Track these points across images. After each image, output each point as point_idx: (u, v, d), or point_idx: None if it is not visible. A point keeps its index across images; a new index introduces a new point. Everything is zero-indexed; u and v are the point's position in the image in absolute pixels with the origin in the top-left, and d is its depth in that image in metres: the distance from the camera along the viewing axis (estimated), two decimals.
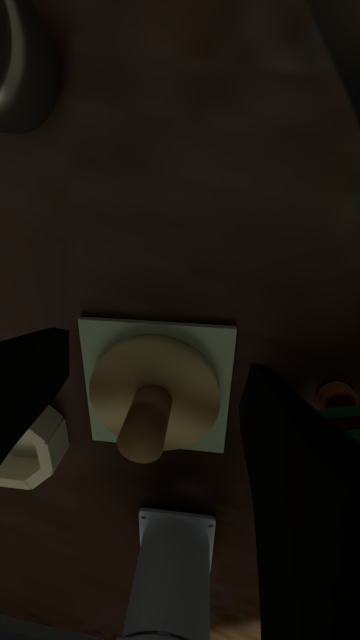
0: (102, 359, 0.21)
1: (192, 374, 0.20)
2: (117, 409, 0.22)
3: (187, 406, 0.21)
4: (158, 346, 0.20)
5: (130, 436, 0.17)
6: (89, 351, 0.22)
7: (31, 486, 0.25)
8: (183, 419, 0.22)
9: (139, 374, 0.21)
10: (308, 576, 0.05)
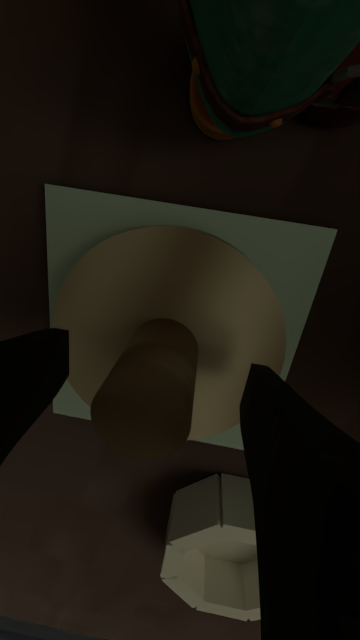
0: (89, 404, 0.14)
1: (110, 273, 0.11)
2: None
3: (179, 292, 0.11)
4: (60, 321, 0.12)
5: (115, 430, 0.08)
6: None
7: None
8: (210, 304, 0.11)
9: (113, 359, 0.13)
10: (308, 576, 0.05)
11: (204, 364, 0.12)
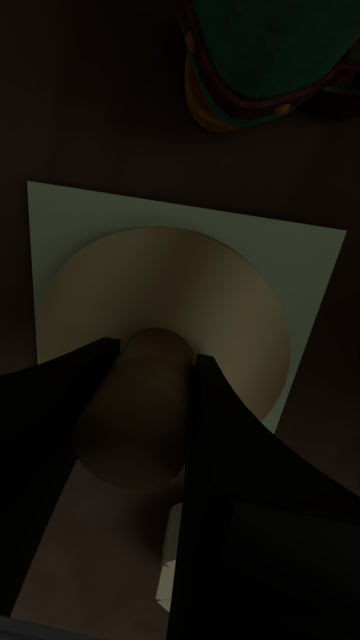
0: None
1: (99, 279, 0.10)
2: None
3: (174, 300, 0.10)
4: (45, 330, 0.11)
5: (101, 459, 0.07)
6: None
7: None
8: (207, 313, 0.10)
9: None
10: (188, 551, 0.05)
11: None
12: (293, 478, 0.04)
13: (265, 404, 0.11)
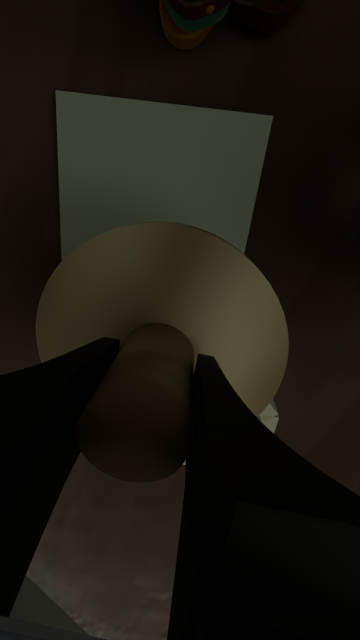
0: None
1: (96, 276, 0.10)
2: None
3: (172, 295, 0.10)
4: (44, 329, 0.11)
5: (105, 453, 0.07)
6: None
7: (272, 413, 0.18)
8: (206, 306, 0.10)
9: None
10: (189, 551, 0.05)
11: None
12: (295, 478, 0.04)
13: (264, 395, 0.12)
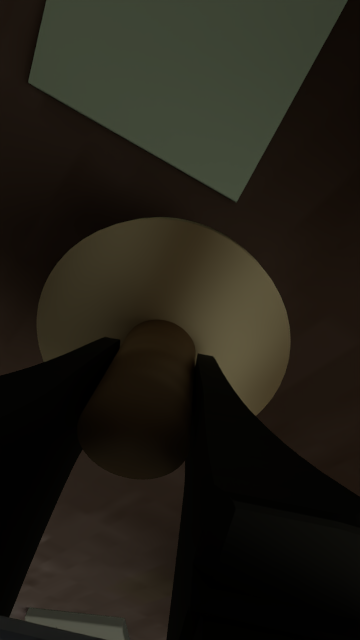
0: None
1: (98, 272, 0.10)
2: None
3: (174, 292, 0.10)
4: (45, 325, 0.11)
5: (106, 450, 0.07)
6: (81, 96, 0.14)
7: None
8: (207, 304, 0.10)
9: None
10: (189, 551, 0.05)
11: None
12: (294, 477, 0.04)
13: (265, 392, 0.12)
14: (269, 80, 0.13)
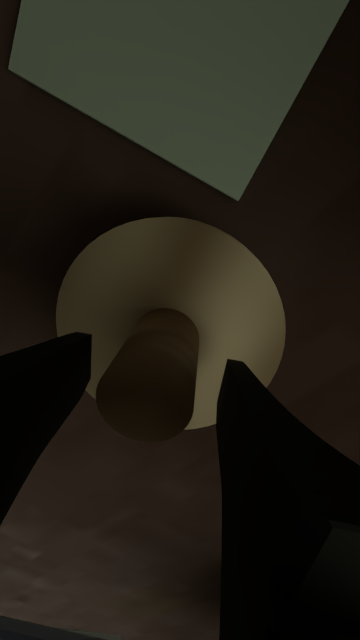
0: (93, 395, 0.14)
1: (112, 264, 0.11)
2: None
3: (180, 282, 0.11)
4: (63, 313, 0.12)
5: (120, 414, 0.08)
6: (67, 84, 0.12)
7: None
8: (210, 293, 0.11)
9: (116, 350, 0.13)
10: (254, 565, 0.05)
11: (205, 353, 0.12)
12: None
13: (263, 377, 0.13)
14: (275, 65, 0.11)
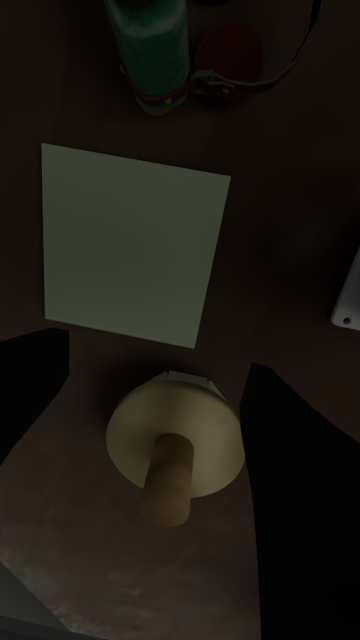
0: (142, 486, 0.22)
1: (130, 418, 0.20)
2: (196, 477, 0.21)
3: (170, 419, 0.19)
4: (111, 447, 0.21)
5: (154, 516, 0.16)
6: (78, 317, 0.21)
7: None
8: (189, 421, 0.19)
9: (147, 460, 0.21)
10: (308, 576, 0.05)
11: (199, 451, 0.20)
12: None
13: (239, 457, 0.20)
14: (188, 281, 0.19)
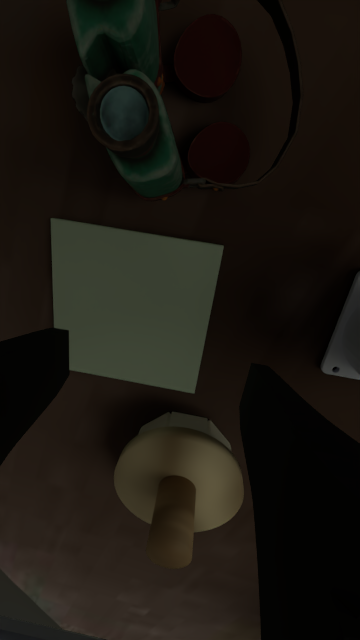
0: (148, 522, 0.24)
1: (136, 462, 0.21)
2: (198, 514, 0.23)
3: (173, 463, 0.21)
4: (119, 487, 0.22)
5: (160, 559, 0.18)
6: (86, 366, 0.23)
7: None
8: (191, 465, 0.21)
9: (152, 498, 0.22)
10: (308, 576, 0.05)
11: (201, 491, 0.22)
12: None
13: (238, 497, 0.21)
14: (187, 335, 0.21)
